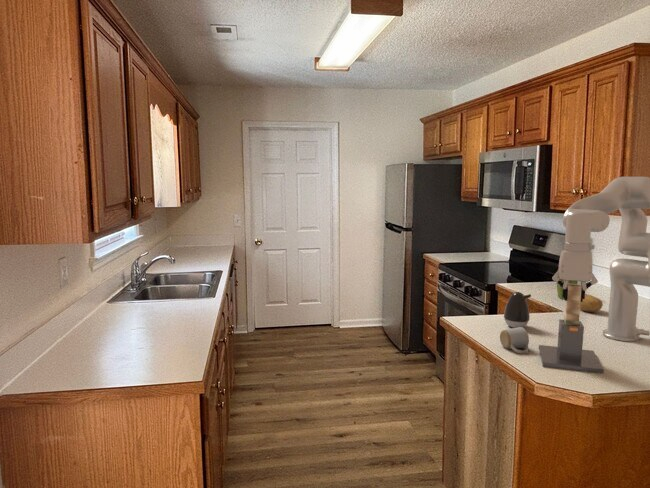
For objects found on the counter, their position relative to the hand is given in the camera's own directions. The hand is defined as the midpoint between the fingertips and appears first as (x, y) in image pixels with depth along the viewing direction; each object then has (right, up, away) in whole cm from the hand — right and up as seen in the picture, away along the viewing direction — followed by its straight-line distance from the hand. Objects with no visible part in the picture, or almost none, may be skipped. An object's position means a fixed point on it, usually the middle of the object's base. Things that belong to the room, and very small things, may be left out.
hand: (573, 299), depth 165 cm
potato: (+40, -13, +64) cm, 77 cm away
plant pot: (+42, -10, +89) cm, 99 cm away
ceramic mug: (-14, -20, +14) cm, 29 cm away
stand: (0, -22, +3) cm, 22 cm away
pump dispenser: (-3, -16, +41) cm, 44 cm away
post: (0, -13, +2) cm, 14 cm away
